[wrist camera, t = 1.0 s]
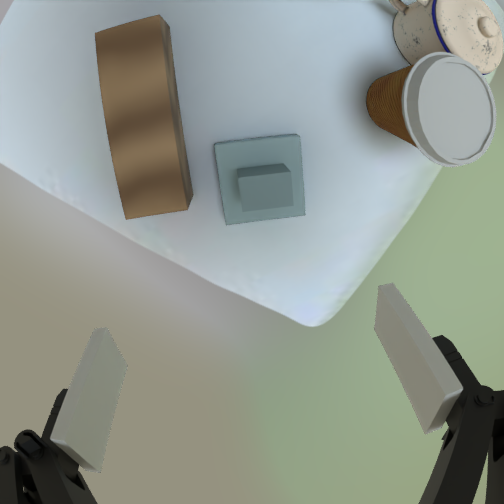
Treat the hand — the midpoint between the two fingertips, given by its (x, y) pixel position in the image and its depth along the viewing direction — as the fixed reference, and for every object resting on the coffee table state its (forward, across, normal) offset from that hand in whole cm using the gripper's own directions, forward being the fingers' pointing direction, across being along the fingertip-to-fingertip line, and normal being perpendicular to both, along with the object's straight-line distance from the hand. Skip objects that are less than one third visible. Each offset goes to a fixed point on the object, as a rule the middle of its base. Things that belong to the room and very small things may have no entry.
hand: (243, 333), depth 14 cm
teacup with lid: (+21, +22, +17) cm, 35 cm away
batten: (+21, -7, +10) cm, 24 cm away
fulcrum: (+20, +3, +2) cm, 21 cm away
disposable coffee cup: (+21, +18, +8) cm, 29 cm away
